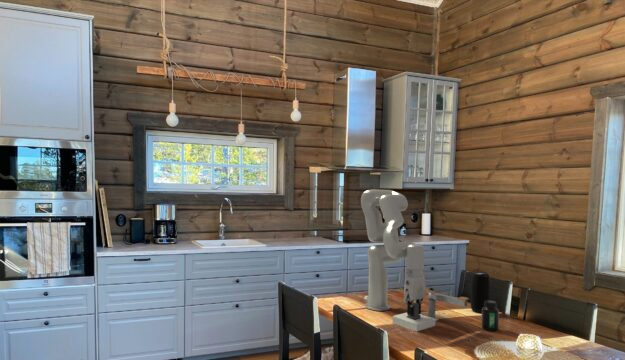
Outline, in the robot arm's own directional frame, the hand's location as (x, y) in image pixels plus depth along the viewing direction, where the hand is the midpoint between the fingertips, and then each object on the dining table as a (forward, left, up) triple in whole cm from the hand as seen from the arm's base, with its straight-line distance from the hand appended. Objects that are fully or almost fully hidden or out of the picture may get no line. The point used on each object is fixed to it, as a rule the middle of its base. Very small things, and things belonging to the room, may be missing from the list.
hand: (414, 313), depth 181 cm
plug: (0, 0, -5) cm, 5 cm away
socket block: (0, +4, -6) cm, 7 cm away
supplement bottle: (+21, +26, -6) cm, 34 cm away
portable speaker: (+4, +47, -6) cm, 48 cm away
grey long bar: (+7, +14, +5) cm, 16 cm away
